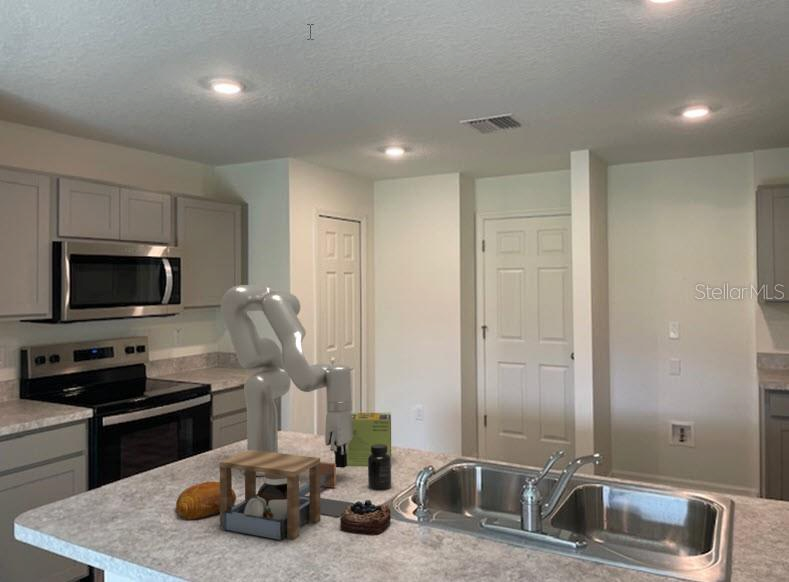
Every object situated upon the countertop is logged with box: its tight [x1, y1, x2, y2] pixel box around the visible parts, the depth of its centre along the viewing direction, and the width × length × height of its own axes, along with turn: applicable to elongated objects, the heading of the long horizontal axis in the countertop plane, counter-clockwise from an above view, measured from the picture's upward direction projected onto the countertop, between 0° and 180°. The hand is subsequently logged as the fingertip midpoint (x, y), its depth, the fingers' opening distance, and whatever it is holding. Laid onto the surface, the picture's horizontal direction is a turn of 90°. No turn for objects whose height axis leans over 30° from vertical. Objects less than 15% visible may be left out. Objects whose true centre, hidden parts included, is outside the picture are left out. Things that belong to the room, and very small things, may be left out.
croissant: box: [175, 480, 237, 520], centre depth 158 cm, size 14×16×8 cm
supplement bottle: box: [367, 444, 392, 491], centre depth 174 cm, size 7×7×12 cm
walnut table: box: [219, 450, 322, 540], centre depth 147 cm, size 21×12×16 cm, turn 67°
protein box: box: [346, 412, 392, 467], centre depth 200 cm, size 10×15×16 cm
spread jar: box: [244, 473, 287, 520], centre depth 147 cm, size 12×11×12 cm
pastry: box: [339, 499, 392, 536], centre depth 146 cm, size 11×12×6 cm
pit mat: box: [303, 495, 355, 518], centre depth 160 cm, size 26×10×1 cm, turn 67°
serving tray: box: [221, 461, 337, 541], centre depth 157 cm, size 16×38×7 cm, turn 157°
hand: (341, 466), depth 180 cm, fingers closed
